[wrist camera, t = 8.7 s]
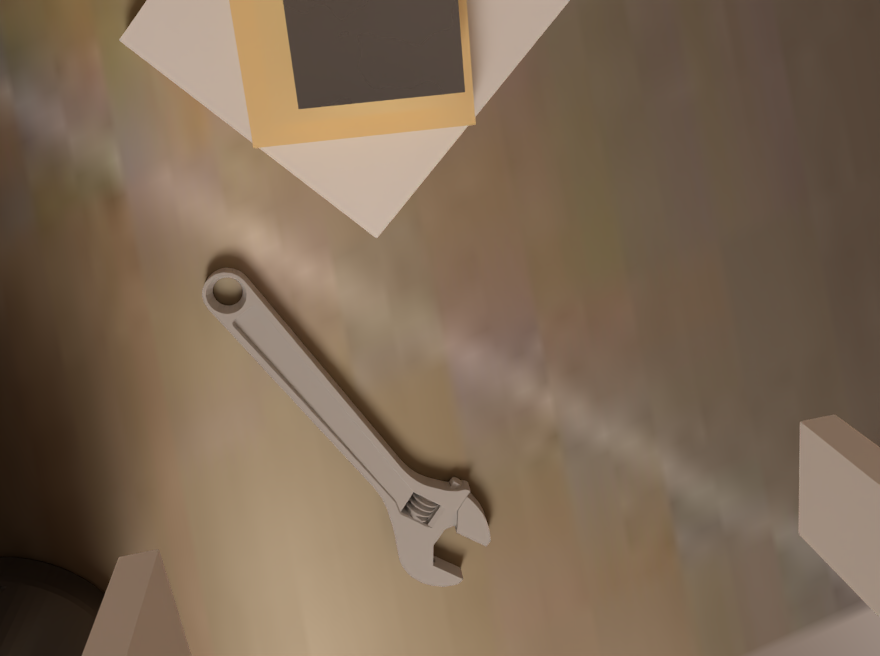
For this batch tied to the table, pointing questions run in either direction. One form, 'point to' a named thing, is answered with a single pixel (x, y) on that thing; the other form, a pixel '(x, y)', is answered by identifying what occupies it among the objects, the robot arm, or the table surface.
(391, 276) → the table surface
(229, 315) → the adjustable wrench
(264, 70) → the stand
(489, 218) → the table surface
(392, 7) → the column
